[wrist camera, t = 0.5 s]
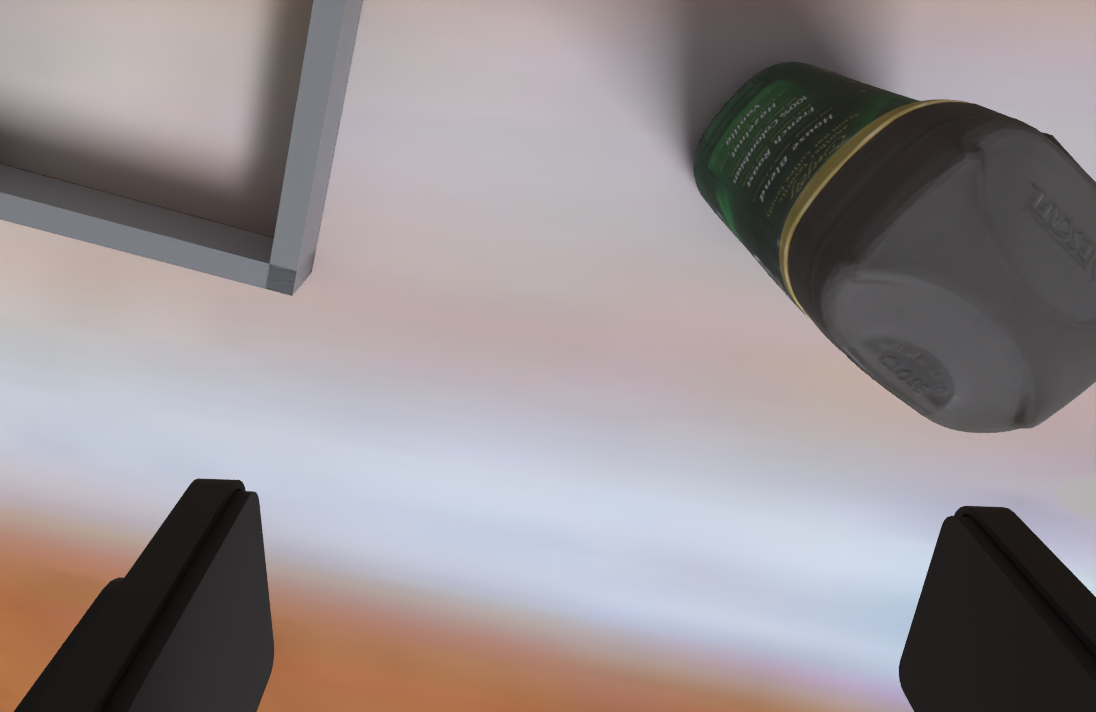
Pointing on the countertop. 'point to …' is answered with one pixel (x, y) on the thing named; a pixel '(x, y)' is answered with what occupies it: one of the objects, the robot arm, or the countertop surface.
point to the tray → (207, 241)
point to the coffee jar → (916, 239)
